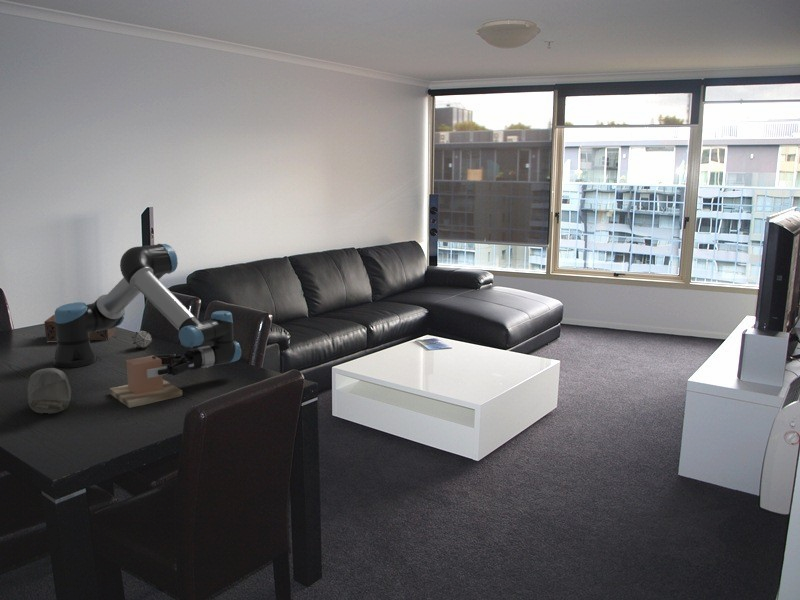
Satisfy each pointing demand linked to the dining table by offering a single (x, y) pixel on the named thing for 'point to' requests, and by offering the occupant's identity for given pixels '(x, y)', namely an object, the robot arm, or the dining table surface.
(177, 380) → the dining table surface
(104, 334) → the tissue box cover
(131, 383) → the notched tan block
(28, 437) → the dining table surface
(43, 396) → the decorative stone
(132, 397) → the base
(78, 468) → the dining table surface
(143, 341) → the game die
